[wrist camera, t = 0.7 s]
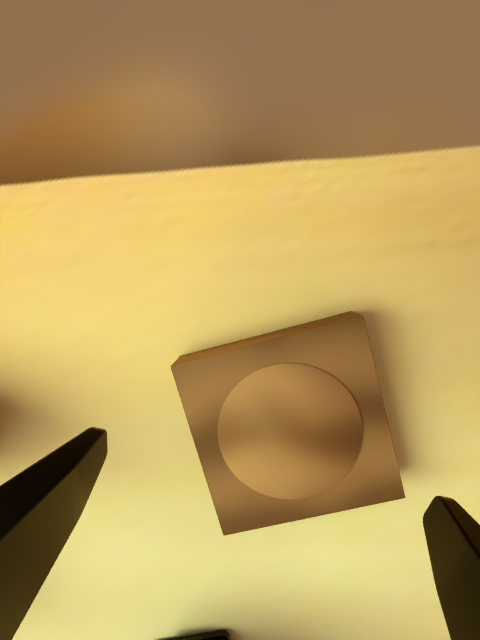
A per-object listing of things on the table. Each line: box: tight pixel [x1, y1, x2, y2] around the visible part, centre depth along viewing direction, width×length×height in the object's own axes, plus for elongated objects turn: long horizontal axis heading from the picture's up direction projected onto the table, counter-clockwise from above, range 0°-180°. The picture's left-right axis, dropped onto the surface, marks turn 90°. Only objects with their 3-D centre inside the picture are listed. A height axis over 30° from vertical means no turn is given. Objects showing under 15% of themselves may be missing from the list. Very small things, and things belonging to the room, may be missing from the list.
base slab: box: [170, 311, 405, 535], centre depth 22 cm, size 12×12×3 cm
